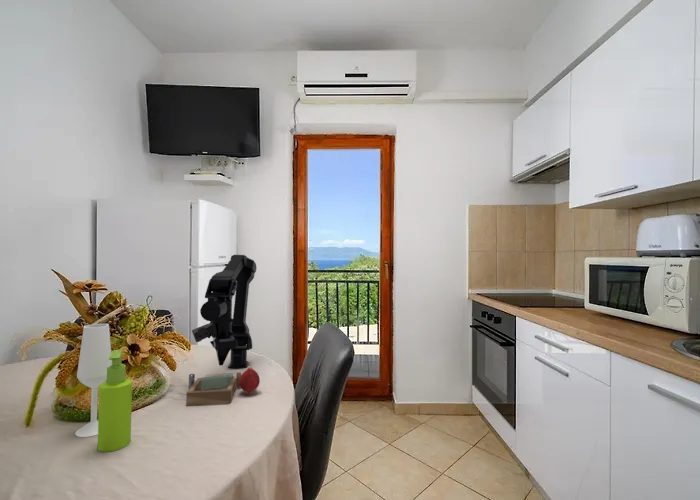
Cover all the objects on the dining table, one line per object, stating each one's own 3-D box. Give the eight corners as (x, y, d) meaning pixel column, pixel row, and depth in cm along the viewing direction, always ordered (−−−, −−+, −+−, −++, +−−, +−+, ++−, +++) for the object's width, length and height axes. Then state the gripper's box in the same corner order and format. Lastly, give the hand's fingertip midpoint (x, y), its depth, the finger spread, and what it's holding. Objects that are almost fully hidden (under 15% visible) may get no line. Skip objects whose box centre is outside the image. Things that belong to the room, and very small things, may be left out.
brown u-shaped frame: (198, 388, 106) (198, 373, 106) (241, 386, 108) (241, 372, 108) (186, 406, 93) (186, 389, 94) (234, 403, 96) (235, 387, 96)
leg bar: (233, 383, 110) (233, 373, 110) (233, 386, 108) (233, 376, 108) (196, 387, 106) (197, 377, 106) (196, 390, 104) (196, 380, 104)
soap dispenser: (94, 457, 69) (96, 357, 70) (100, 441, 76) (102, 348, 76) (128, 450, 72) (131, 353, 72) (131, 434, 78) (134, 346, 79)
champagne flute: (104, 419, 85) (107, 321, 85) (116, 428, 81) (118, 325, 82) (70, 430, 80) (73, 326, 80) (81, 440, 76) (84, 330, 76)
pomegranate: (262, 390, 105) (262, 363, 105) (255, 397, 99) (255, 369, 100) (243, 389, 106) (244, 362, 106) (235, 396, 100) (236, 368, 100)
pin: (189, 388, 105) (189, 373, 105) (194, 388, 106) (195, 373, 106) (187, 390, 104) (188, 375, 104) (193, 390, 104) (193, 375, 104)
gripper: (191, 312, 113) (190, 360, 113) (197, 322, 97) (196, 378, 97) (226, 310, 119) (225, 356, 118) (238, 319, 103) (237, 372, 102)
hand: (220, 365), depth 109 cm, fingers closed
